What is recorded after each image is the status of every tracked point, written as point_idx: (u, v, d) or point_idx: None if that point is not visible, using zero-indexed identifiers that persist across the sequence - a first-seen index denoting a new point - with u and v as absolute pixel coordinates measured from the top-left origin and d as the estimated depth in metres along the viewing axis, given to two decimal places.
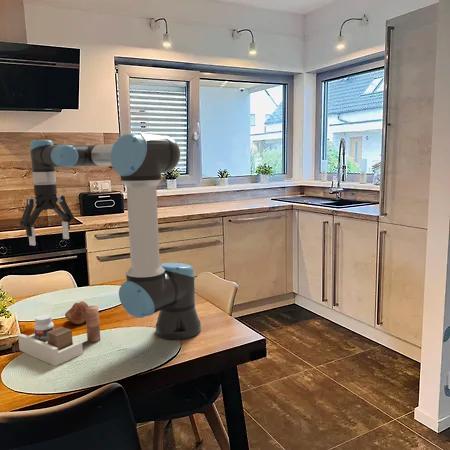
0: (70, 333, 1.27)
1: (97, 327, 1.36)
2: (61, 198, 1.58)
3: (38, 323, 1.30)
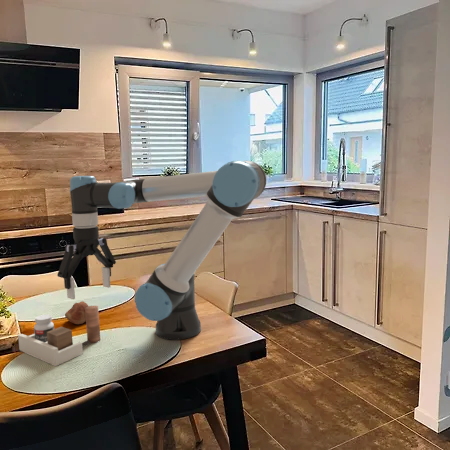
0: (70, 333, 1.27)
1: (97, 327, 1.36)
2: (103, 241, 1.37)
3: (38, 323, 1.30)
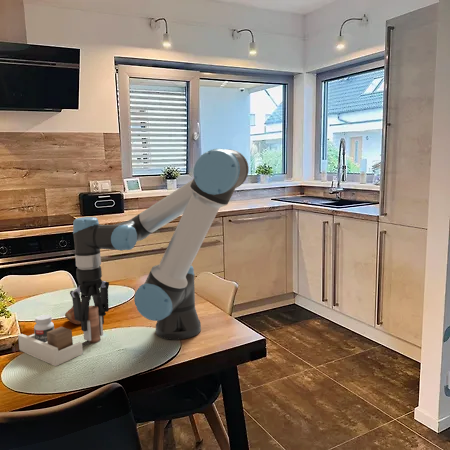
0: (70, 333, 1.27)
1: (97, 327, 1.36)
2: (105, 284, 1.39)
3: (38, 323, 1.30)
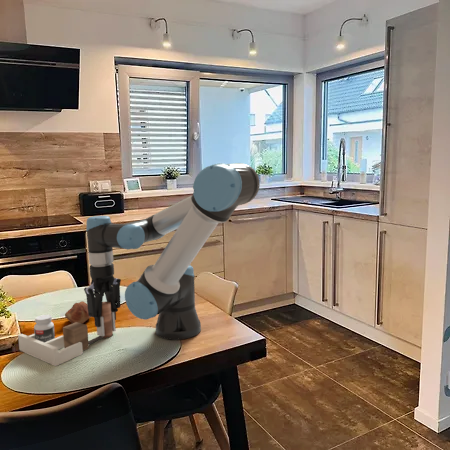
0: (86, 328, 1.31)
1: (110, 322, 1.40)
2: (117, 281, 1.43)
3: (38, 323, 1.30)
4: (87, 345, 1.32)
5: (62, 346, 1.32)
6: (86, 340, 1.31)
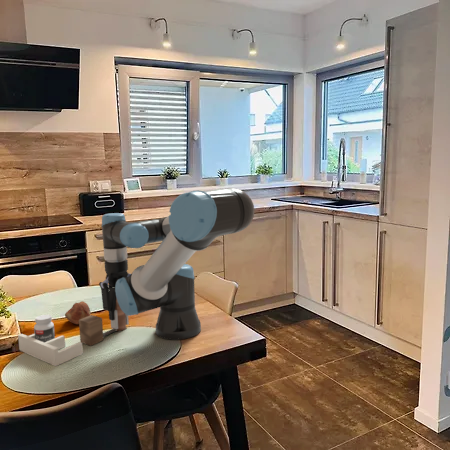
0: (101, 321, 1.36)
1: (123, 316, 1.45)
2: (130, 276, 1.48)
3: (38, 323, 1.30)
4: (102, 337, 1.37)
5: (62, 346, 1.32)
6: (101, 332, 1.36)
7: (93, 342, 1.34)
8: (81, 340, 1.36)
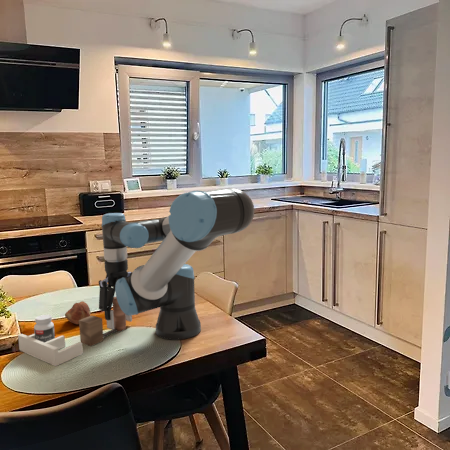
0: (101, 321, 1.36)
1: (123, 316, 1.45)
2: (130, 274, 1.48)
3: (38, 323, 1.30)
4: (102, 337, 1.37)
5: (62, 346, 1.32)
6: (101, 333, 1.36)
7: (93, 342, 1.34)
8: (81, 341, 1.36)
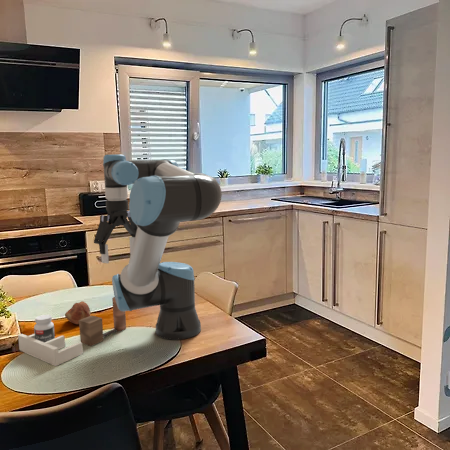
0: (101, 321, 1.36)
1: (123, 316, 1.45)
2: None
3: (38, 323, 1.30)
4: (102, 337, 1.37)
5: (62, 346, 1.32)
6: (101, 333, 1.36)
7: (93, 342, 1.34)
8: (81, 341, 1.36)
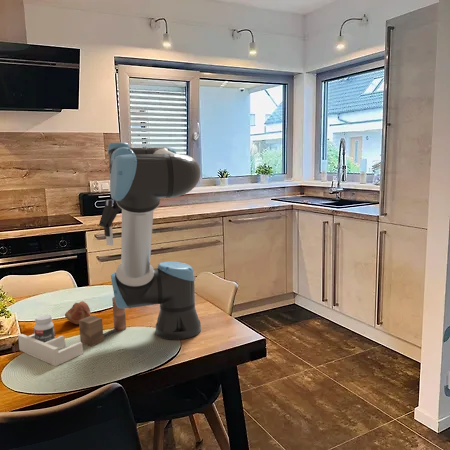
0: (101, 321, 1.36)
1: (123, 316, 1.45)
2: None
3: (38, 323, 1.30)
4: (102, 337, 1.37)
5: (62, 346, 1.32)
6: (101, 333, 1.36)
7: (93, 342, 1.34)
8: (81, 341, 1.36)
